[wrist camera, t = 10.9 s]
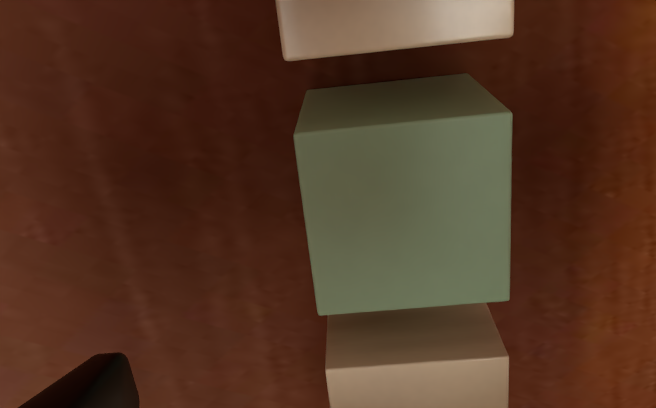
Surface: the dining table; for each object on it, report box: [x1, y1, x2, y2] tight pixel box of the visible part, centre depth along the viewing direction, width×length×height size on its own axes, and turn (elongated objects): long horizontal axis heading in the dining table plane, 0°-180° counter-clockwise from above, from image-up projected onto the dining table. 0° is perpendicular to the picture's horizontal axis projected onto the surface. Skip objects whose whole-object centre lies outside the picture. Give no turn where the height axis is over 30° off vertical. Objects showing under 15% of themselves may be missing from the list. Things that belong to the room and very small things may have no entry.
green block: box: [293, 73, 512, 316], centre depth 15 cm, size 4×4×4 cm
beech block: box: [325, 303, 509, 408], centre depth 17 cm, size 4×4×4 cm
